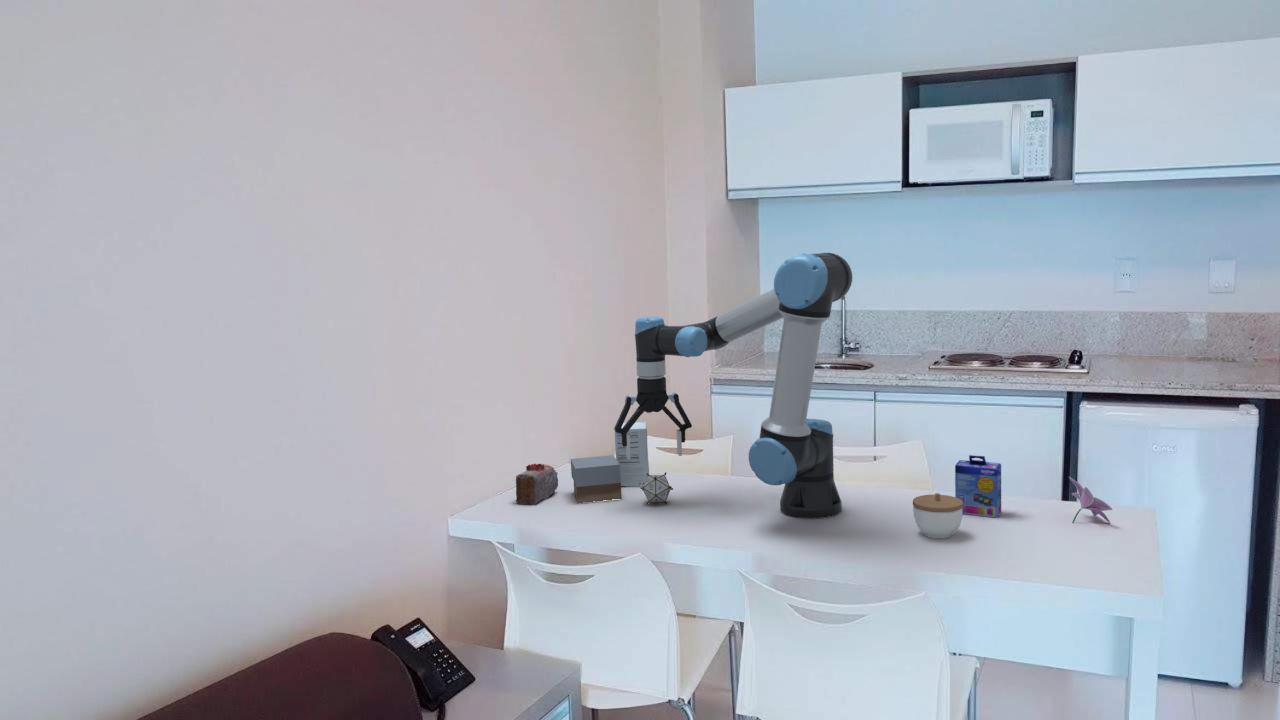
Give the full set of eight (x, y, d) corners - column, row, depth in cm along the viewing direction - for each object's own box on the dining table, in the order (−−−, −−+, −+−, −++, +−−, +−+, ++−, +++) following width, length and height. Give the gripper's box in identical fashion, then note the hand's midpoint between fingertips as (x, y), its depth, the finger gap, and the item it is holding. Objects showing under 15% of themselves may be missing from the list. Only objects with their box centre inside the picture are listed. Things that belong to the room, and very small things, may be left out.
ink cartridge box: (954, 514, 219) (953, 455, 217) (959, 507, 224) (958, 450, 222) (997, 518, 214) (997, 458, 212) (1001, 512, 219) (1001, 453, 217)
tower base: (621, 500, 246) (620, 482, 245) (577, 504, 244) (576, 486, 243) (616, 489, 257) (615, 472, 257) (574, 493, 256) (573, 475, 255)
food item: (535, 491, 259) (533, 457, 258) (560, 492, 257) (558, 458, 255) (513, 504, 246) (511, 469, 245) (540, 506, 244) (538, 470, 242)
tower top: (620, 482, 245) (619, 464, 244) (576, 486, 243) (575, 468, 242) (614, 472, 257) (613, 455, 256) (571, 476, 255) (570, 458, 254)
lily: (1111, 537, 201) (1128, 497, 201) (1057, 513, 204) (1074, 474, 205) (1098, 536, 212) (1114, 499, 213) (1047, 514, 215) (1063, 477, 216)
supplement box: (618, 479, 268) (615, 422, 266) (649, 477, 268) (646, 421, 265) (617, 487, 258) (614, 429, 256) (649, 486, 258) (646, 427, 256)
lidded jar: (909, 527, 211) (908, 487, 210) (957, 526, 209) (956, 486, 208) (918, 542, 200) (917, 500, 199) (968, 541, 199) (968, 499, 198)
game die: (663, 514, 243) (682, 482, 244) (660, 512, 234) (679, 478, 236) (634, 497, 245) (653, 465, 246) (630, 494, 236) (650, 461, 238)
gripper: (695, 371, 242) (697, 450, 245) (602, 377, 239) (605, 456, 241) (701, 376, 234) (703, 456, 237) (605, 381, 231) (608, 463, 234)
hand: (654, 456), depth 239 cm, fingers open, 13 cm apart
